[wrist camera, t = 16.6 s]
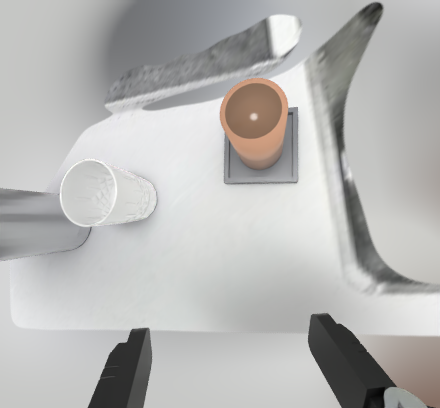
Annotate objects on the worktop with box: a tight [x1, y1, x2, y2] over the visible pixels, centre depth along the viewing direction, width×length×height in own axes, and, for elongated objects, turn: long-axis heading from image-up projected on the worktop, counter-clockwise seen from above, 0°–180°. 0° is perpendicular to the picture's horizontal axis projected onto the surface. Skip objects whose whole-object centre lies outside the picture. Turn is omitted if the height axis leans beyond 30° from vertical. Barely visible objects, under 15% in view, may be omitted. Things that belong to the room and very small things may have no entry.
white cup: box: [60, 159, 157, 227], centre depth 30 cm, size 8×8×10 cm
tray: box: [224, 107, 298, 184], centre depth 30 cm, size 10×10×2 cm
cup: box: [220, 78, 288, 170], centre depth 25 cm, size 6×6×11 cm
